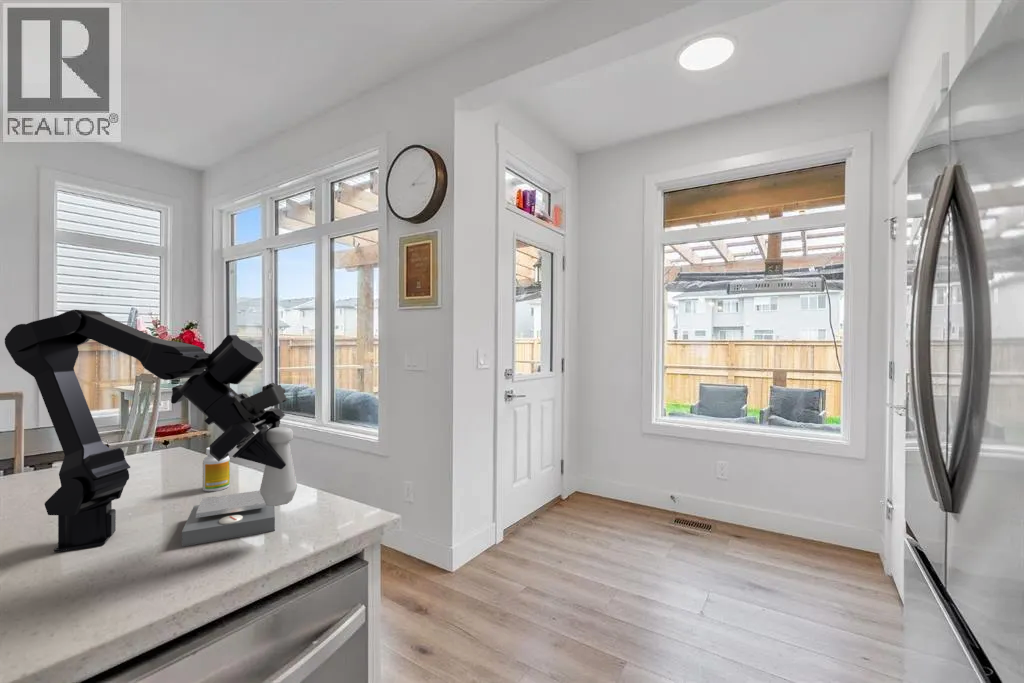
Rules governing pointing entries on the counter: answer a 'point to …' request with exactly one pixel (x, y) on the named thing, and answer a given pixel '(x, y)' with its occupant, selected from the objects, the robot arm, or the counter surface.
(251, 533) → the scale
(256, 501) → the scale pan
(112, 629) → the counter surface
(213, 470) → the supplement bottle
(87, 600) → the counter surface
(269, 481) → the salt shaker
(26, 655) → the counter surface
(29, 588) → the counter surface
